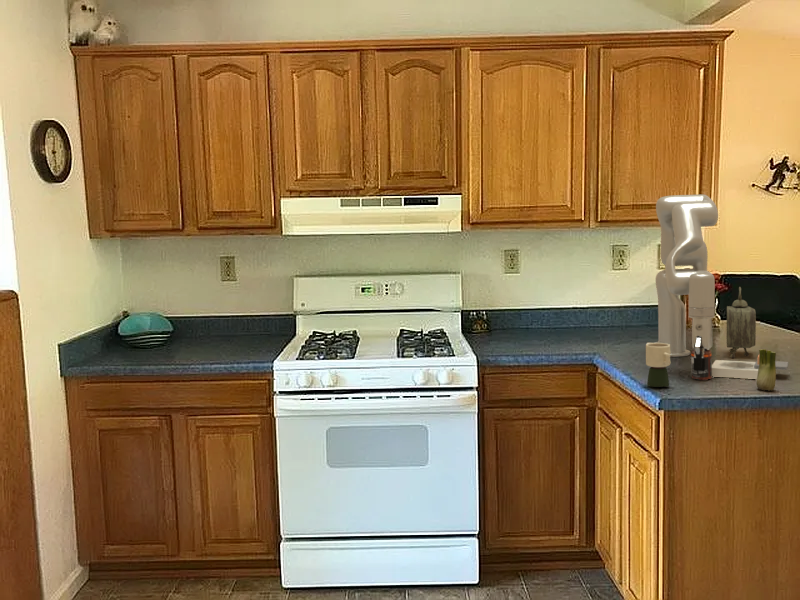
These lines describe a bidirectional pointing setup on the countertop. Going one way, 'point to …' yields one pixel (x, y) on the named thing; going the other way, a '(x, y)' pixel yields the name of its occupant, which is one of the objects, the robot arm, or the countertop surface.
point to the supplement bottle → (708, 366)
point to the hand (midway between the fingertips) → (701, 367)
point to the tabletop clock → (740, 326)
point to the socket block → (734, 369)
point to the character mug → (658, 364)
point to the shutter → (778, 364)
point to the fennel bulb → (766, 370)
